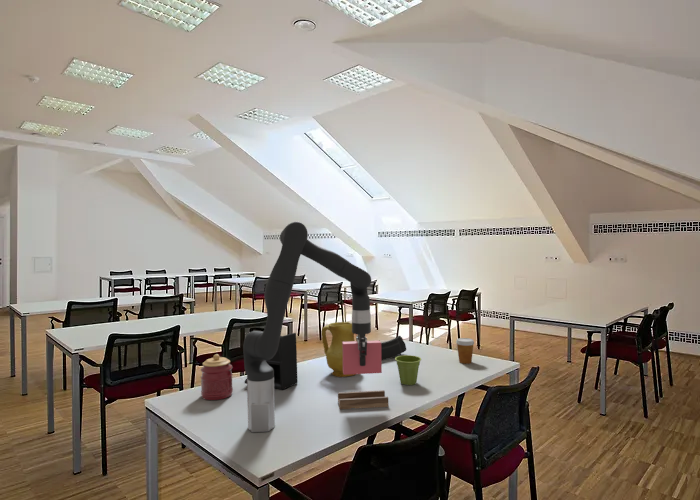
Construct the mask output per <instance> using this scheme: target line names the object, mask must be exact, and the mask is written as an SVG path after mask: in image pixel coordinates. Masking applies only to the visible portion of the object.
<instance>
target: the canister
mask: <svg viewBox="0 0 700 500" xmlns="http://www.w3.org/2000/svg"><path fill="white" fill-rule="evenodd" d="M232 369H233V365H232V364H231V360H230V359H228V358H227V357H223V356H220V354H218V353H216V354H214V355H213V357H211V358H208V359H206V360H205V361H204V362H202V367H201V368H200V372H201V376H200V379H201V381H200V383H201V389H200V395H201V398H202V399H204V400H206V401H218V400H224V399H227V398H229V397H231V396H232V395H233V391H234V387H233V373H232Z"/></svg>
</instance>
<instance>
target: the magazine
mask: <svg viewBox="0 0 700 500" xmlns="http://www.w3.org/2000/svg"><path fill="white" fill-rule="evenodd" d="M406 351H407V346H406V343H405V341H404V339H403V337H402V336H401V335H397V337H395V338H393V339H391V340H387V341H384V342H381V361H384V360H389V359H392V358H394V357H395V358H396V357H398V356H402V354H403V353H405V352H406Z"/></svg>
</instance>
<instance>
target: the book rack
mask: <svg viewBox="0 0 700 500" xmlns="http://www.w3.org/2000/svg"><path fill="white" fill-rule="evenodd" d="M385 393H386V390H381V389H380V390H365V391H345V392H344V391H343V392H341V391H340V392H337V401H338V402H337V403H338V407H339V410H350V409H351V408H355V409H366V408H367V409H370V408H373V409H374V408H386V407H387V408H389V397H388V396H386V394H385ZM351 410H352V409H351Z"/></svg>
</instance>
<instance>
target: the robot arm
mask: <svg viewBox="0 0 700 500" xmlns="http://www.w3.org/2000/svg"><path fill="white" fill-rule="evenodd" d="M308 235H309V233H308V229H307V227H306V226H305V224H304V223H302V222H300V221H294V222H291V223H288V224H287V225H286V226H285V227H284V228H283V230H282V231H281V232H280V235H279V240H280V243H281V250H280V252H279V256H278V258H277V259H276V262H275V263H274V266H273V267H272V270H271V272H270V274H269V277H268V280H267V282H266V283H267V284H266V286H265V289H264V295H263V296H264V303H265V308H266V322H265V326H264V330H263V331H259V330H252V331H249V332H248V333H247V334H246V335H245V336H246V337H244V341H243V346H242V349H243V350H242V351H243V353H242V354H243V363H244V364H243V366H244V371H245V374H246V379H247V383H246V385H247V386H246V391H247V395H246V396H247V429H248V430H249V431H250V432H251V433H263V432H270V431H271V430H272V429H274V428H275V426H276V425H275V424H276V419H275V418H276V417H275V416H276V415H275V414H276V413H275V388H274V370H273V368H272V367H271V366H269V365H268V364H267V362H266V360H270V359H272V358H273V357H274V356H275V354H276V352H277V350H278V346H279V342H280V336H282V335H281V334H282V330H283V325H284V320H285V317H286V316H285V315H286V310H287V307H288V304H289V301H290V297H291V293H292V291H293V287H294V283H295V282H294V281H295V278H296V274H297V271H298V270H297V269H298V265H299V261H300V259H301V258H300V257H301V256H304V257H306V258H308V259H310V260H311V261H313V262H315V263H317V264H319V265H321V266H322V267H324V269H325V268H326V269H327V270H328V271H330V272H331V273H333V274H335V275H336V276H338V277H340V278H342V279H345V280H346V281H348V282H349V283H350V292H351V299H352V300H351V306H352V309H351V323H352V333H354V335H356V337H355V341H357V343H358V350H359V356H360V366H365V365H366V359H365V356H367V341H368V338H367V337H366V334H367V335H370V333H372V319H371V318H372V317H371V315H372V314H371V299H370V296H369V294H368V288H369V287H370V286H371V284H372V276H371V274H369V272H367V271H366V270H364V269H362V268H360V267H359V266H357V265H355V264H353V263H352V262H350V261H349V260H347V258H344V257H343V256H342V255H340V254H338V253H336V252H334V251H332V250H329V249H327V248H324V247H321V246H319V245H317V244H315V243H314V242H311V241H310V240H309V239H308ZM359 344H360V347H359ZM362 351H364V353H362Z"/></svg>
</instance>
